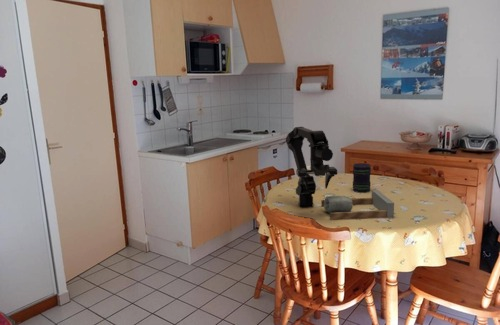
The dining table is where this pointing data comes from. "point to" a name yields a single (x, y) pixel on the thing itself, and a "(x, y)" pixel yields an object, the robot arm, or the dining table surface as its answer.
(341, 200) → the spool
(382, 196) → the end stop
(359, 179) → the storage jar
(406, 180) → the dining table surface
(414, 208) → the dining table surface
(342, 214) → the guide rails
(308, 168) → the foam cup
